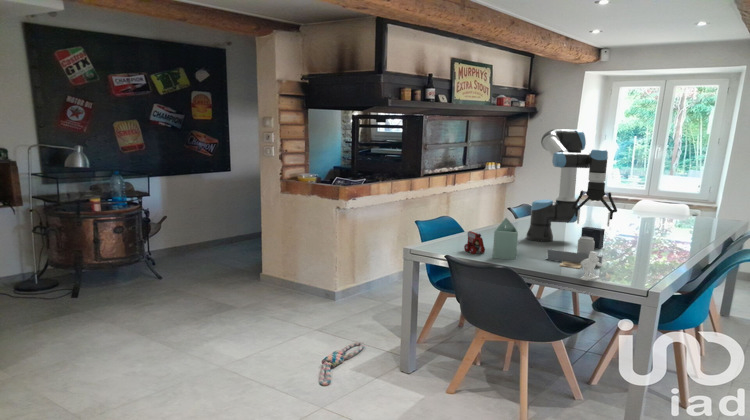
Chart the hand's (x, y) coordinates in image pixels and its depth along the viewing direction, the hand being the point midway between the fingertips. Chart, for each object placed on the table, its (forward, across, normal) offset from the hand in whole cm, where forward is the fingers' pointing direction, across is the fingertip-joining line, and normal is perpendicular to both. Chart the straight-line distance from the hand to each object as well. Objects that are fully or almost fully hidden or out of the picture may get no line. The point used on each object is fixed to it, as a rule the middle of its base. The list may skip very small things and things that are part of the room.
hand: (592, 224), depth 240 cm
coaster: (+18, -7, -16) cm, 25 cm away
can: (+18, -2, -4) cm, 19 cm away
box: (+18, -1, +35) cm, 39 cm away
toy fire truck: (+18, -54, -14) cm, 59 cm away
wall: (+18, -7, -8) cm, 21 cm away
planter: (+18, -36, -15) cm, 43 cm away
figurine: (+19, +2, -35) cm, 39 cm away
